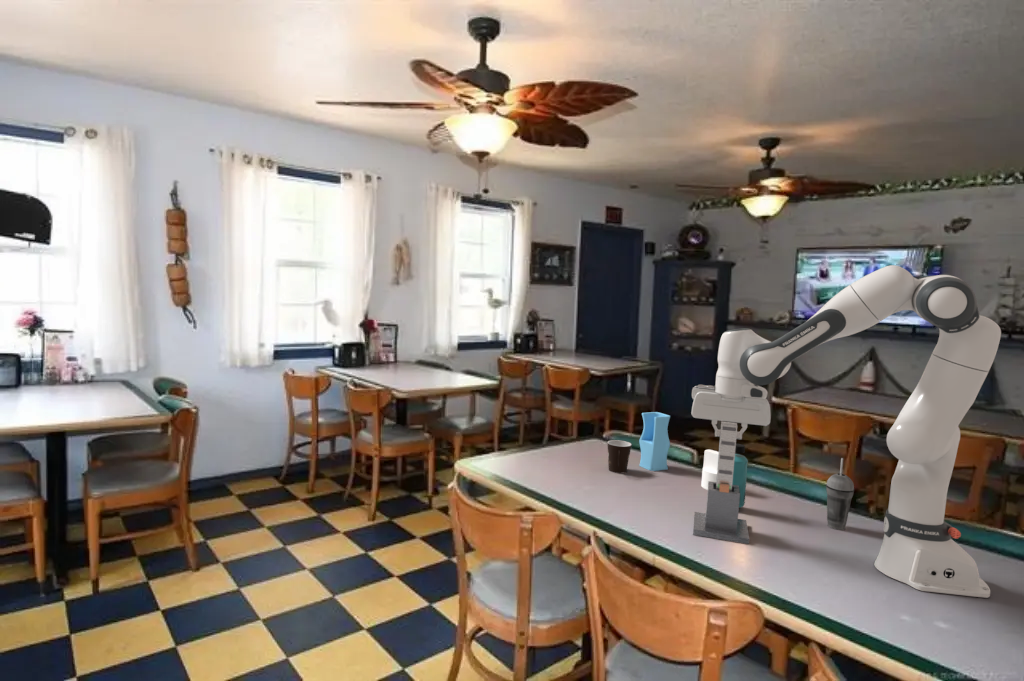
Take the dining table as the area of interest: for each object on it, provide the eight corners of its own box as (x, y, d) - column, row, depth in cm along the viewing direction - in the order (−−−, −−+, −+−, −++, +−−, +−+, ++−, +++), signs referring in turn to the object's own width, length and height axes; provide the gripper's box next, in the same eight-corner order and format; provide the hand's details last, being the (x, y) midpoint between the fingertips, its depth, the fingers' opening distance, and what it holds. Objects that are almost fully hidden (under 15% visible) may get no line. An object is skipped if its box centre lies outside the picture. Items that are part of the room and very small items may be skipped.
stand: (745, 525, 168) (749, 477, 167) (748, 544, 155) (753, 493, 154) (694, 516, 173) (698, 470, 172) (693, 534, 160) (697, 484, 158)
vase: (637, 465, 223) (641, 412, 221) (653, 463, 227) (657, 411, 225) (651, 471, 216) (655, 417, 214) (668, 469, 220) (672, 416, 218)
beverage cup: (823, 528, 169) (830, 460, 167) (820, 520, 176) (826, 454, 174) (852, 533, 166) (860, 464, 165) (847, 524, 173) (854, 457, 172)
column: (729, 500, 165) (736, 423, 163) (730, 505, 161) (737, 426, 159) (714, 498, 166) (721, 421, 164) (714, 503, 162) (721, 424, 160)
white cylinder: (695, 485, 202) (698, 451, 201) (711, 481, 208) (714, 448, 207) (718, 493, 195) (721, 458, 194) (734, 489, 200) (737, 454, 199)
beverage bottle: (746, 513, 178) (752, 448, 176) (722, 510, 179) (728, 445, 178) (742, 506, 184) (747, 443, 183) (719, 503, 186) (725, 440, 184)
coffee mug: (612, 465, 221) (613, 439, 220) (633, 470, 216) (635, 443, 215) (597, 472, 211) (599, 444, 211) (619, 477, 206) (621, 449, 206)
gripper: (692, 385, 161) (688, 435, 162) (773, 393, 155) (769, 445, 156) (692, 382, 167) (688, 430, 168) (771, 389, 161) (766, 439, 162)
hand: (728, 437), depth 162 cm, fingers closed on column, 4 cm apart
